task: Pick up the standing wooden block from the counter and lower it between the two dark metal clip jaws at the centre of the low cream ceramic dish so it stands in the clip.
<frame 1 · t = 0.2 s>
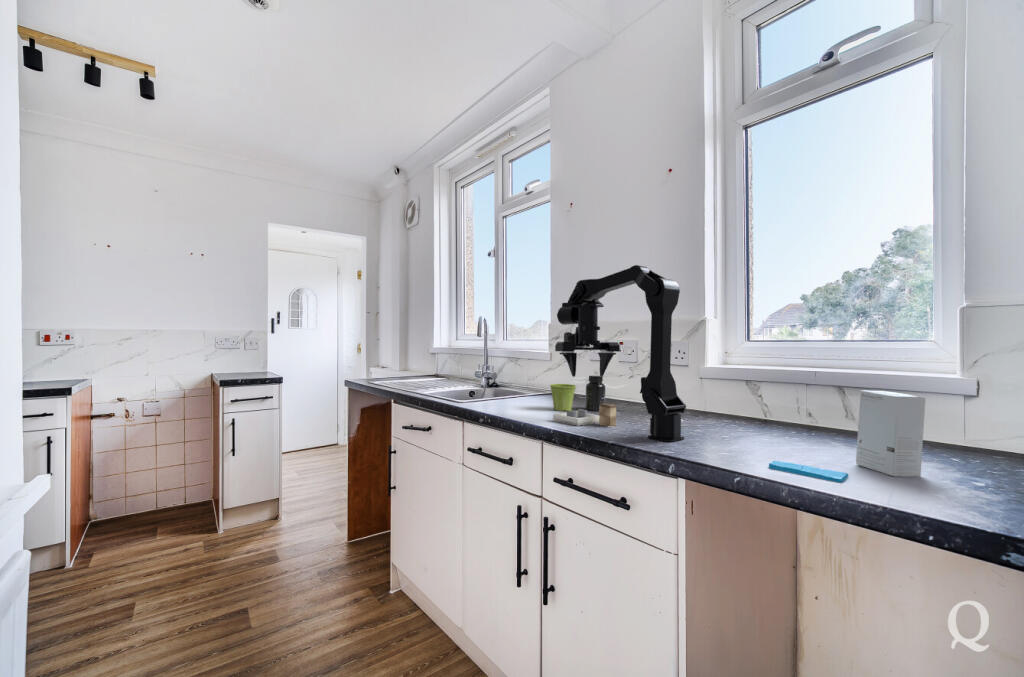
hand: (587, 376, 132), 14 cm above the worktop, tool pointing down, fingers open, 9 cm apart
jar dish: (576, 421, 133), on the worktop
supplement bottle: (595, 410, 157), on the worktop
skincare box: (888, 471, 85), on the worktop
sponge: (807, 475, 83), on the worktop
plant pot: (562, 410, 156), on the worktop
wooden block: (607, 425, 128), on the worktop
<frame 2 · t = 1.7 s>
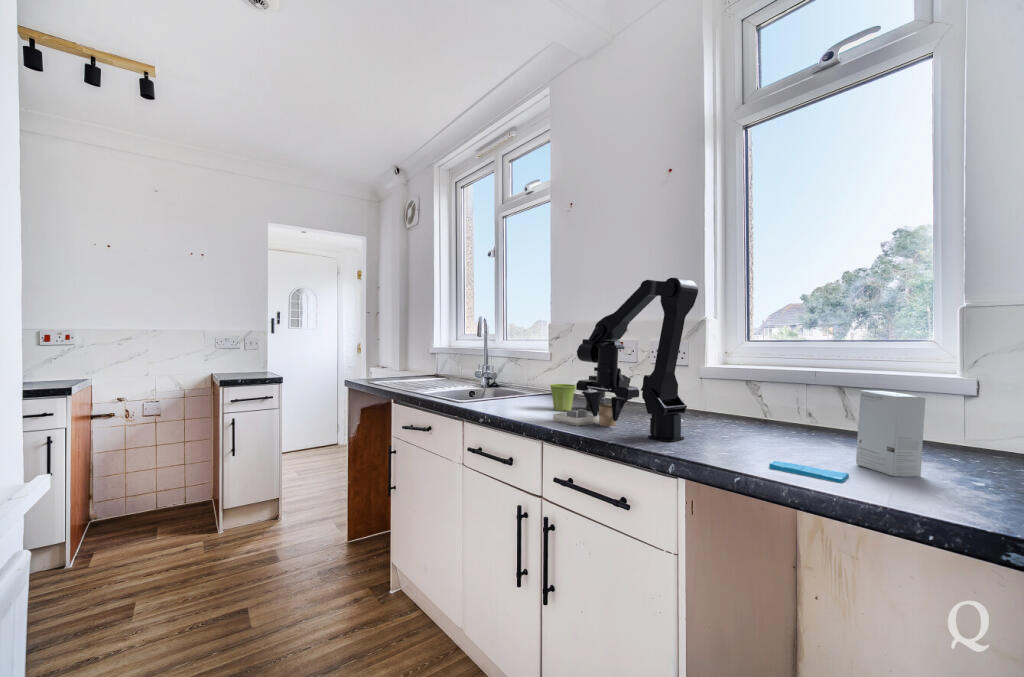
hand: (605, 418, 128), 2 cm above the worktop, tool pointing down, fingers open, 7 cm apart
nothing on the worktop moved.
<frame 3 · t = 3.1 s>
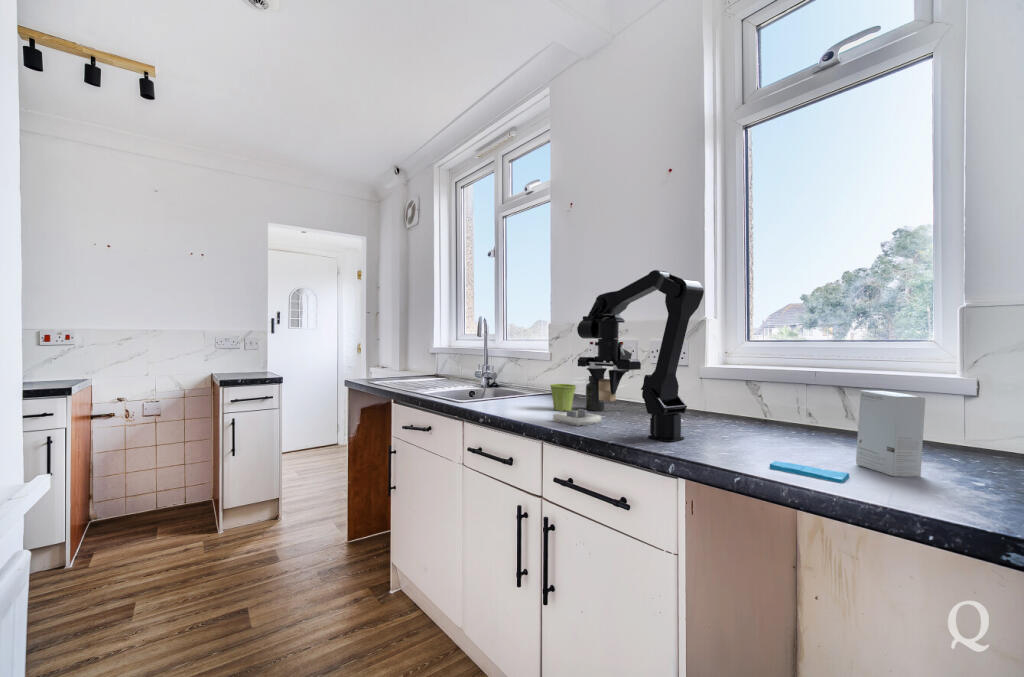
hand: (607, 393, 128), 9 cm above the worktop, tool pointing down, fingers closed on wooden block, 4 cm apart
wooden block: (607, 400, 128), point 7 cm above the worktop, touching gripper
everything else where it was.
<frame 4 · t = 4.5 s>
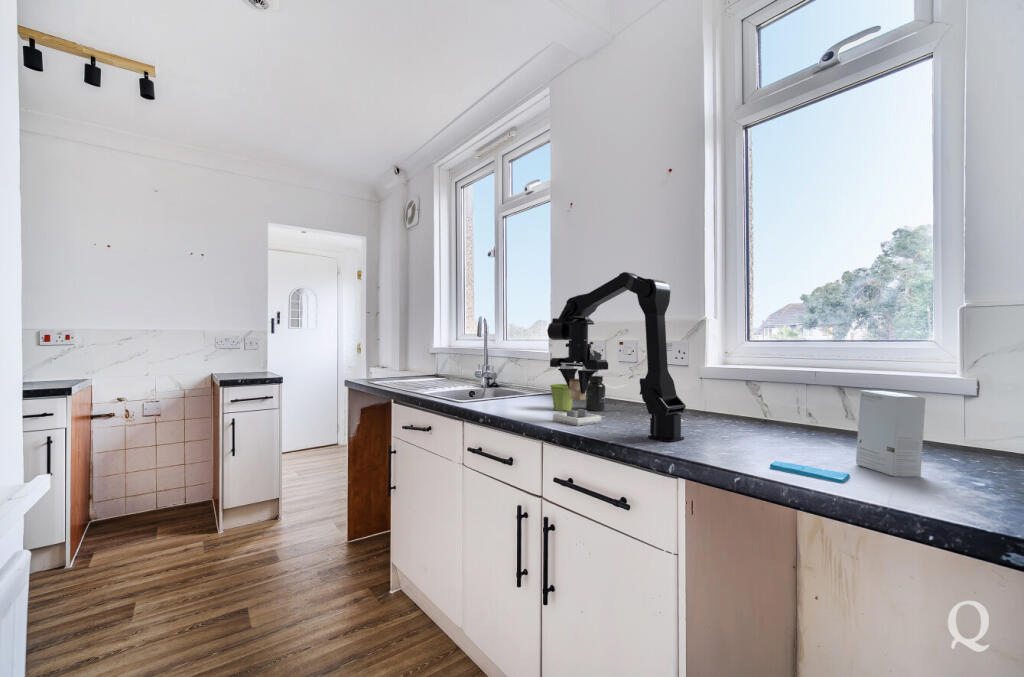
hand: (577, 392, 133), 9 cm above the worktop, tool pointing down, fingers closed on wooden block, 4 cm apart
wooden block: (577, 399, 133), point 7 cm above the worktop, touching gripper
everything else where it was.
when the fingers open (3 cm above the worktop, at t = 5.7 s): wooden block stays where it is, resting on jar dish.
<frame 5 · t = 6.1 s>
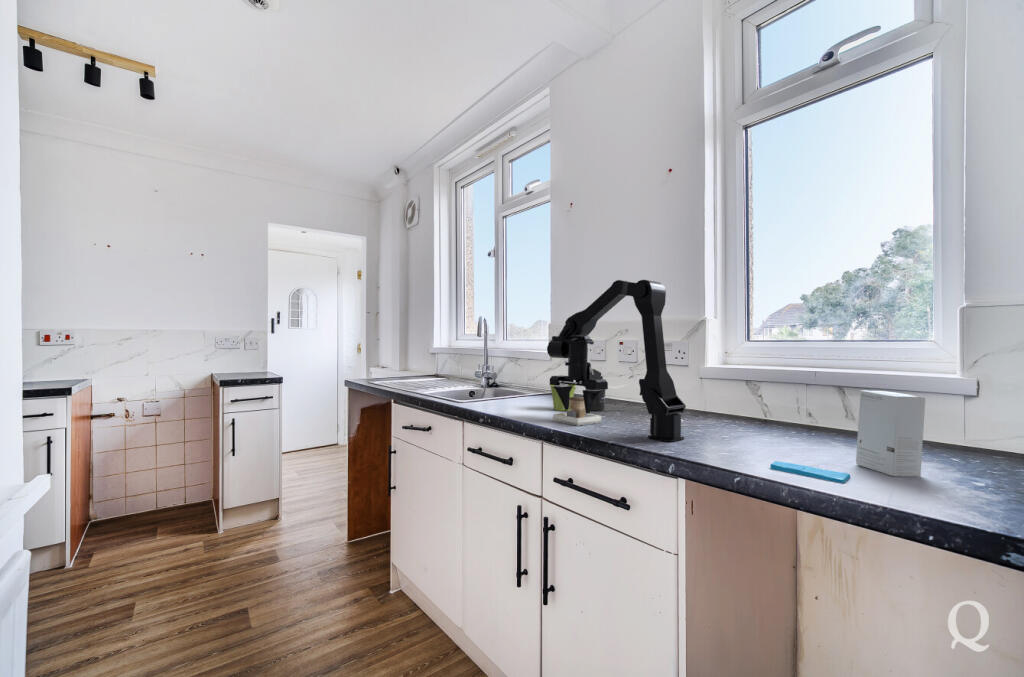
hand: (577, 411, 133), 3 cm above the worktop, tool pointing down, fingers open, 8 cm apart
wooden block: (577, 418, 133), point 1 cm above the worktop, touching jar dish
everything else where it was.
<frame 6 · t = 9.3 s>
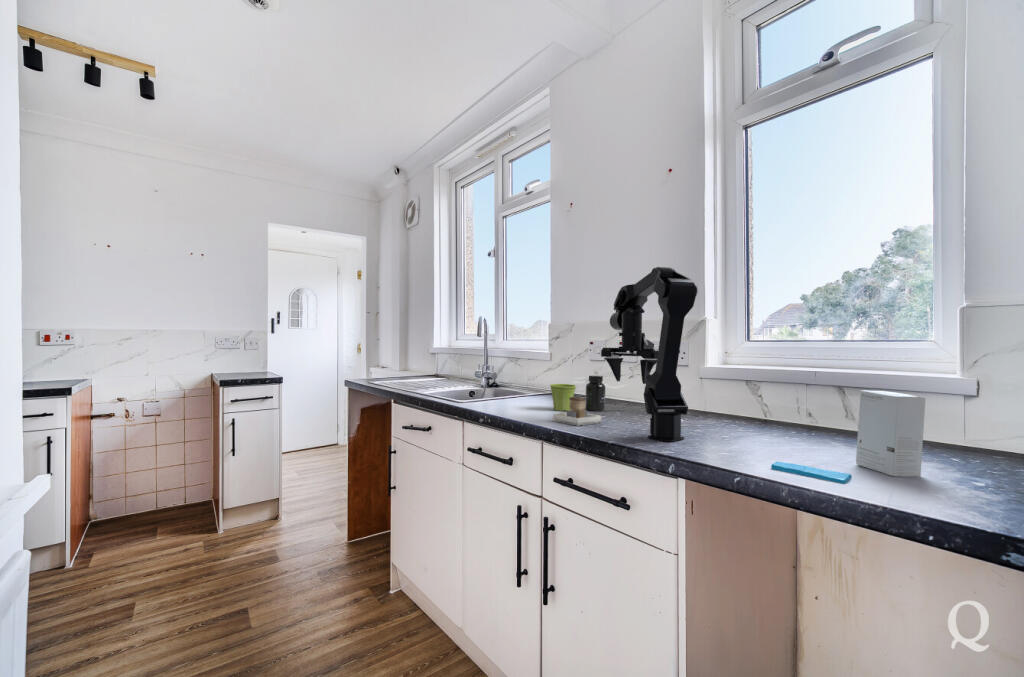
hand: (631, 382, 131), 12 cm above the worktop, tool pointing down, fingers open, 9 cm apart
nothing on the worktop moved.
at the end: wooden block 0.1 cm off-centre on the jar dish, point 1.1 cm above the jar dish's base; wooden block tilted 0°; the gripper is holding nothing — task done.
